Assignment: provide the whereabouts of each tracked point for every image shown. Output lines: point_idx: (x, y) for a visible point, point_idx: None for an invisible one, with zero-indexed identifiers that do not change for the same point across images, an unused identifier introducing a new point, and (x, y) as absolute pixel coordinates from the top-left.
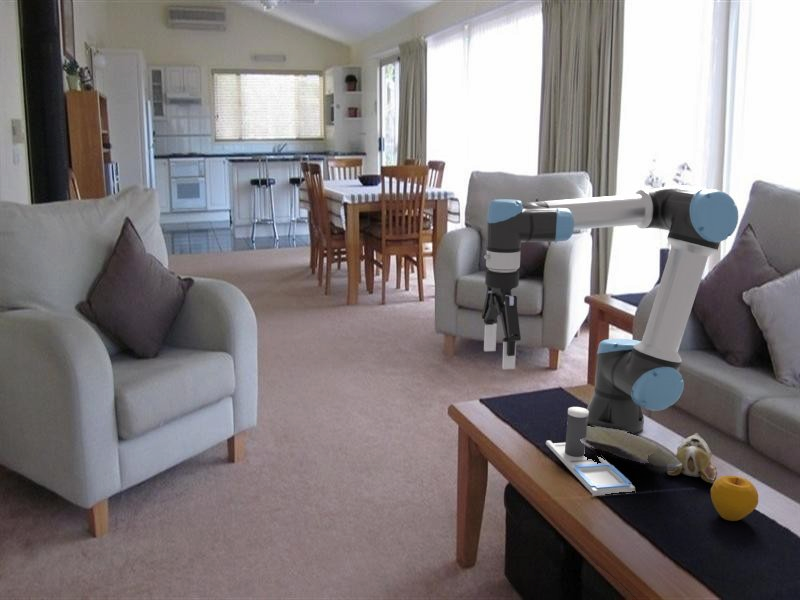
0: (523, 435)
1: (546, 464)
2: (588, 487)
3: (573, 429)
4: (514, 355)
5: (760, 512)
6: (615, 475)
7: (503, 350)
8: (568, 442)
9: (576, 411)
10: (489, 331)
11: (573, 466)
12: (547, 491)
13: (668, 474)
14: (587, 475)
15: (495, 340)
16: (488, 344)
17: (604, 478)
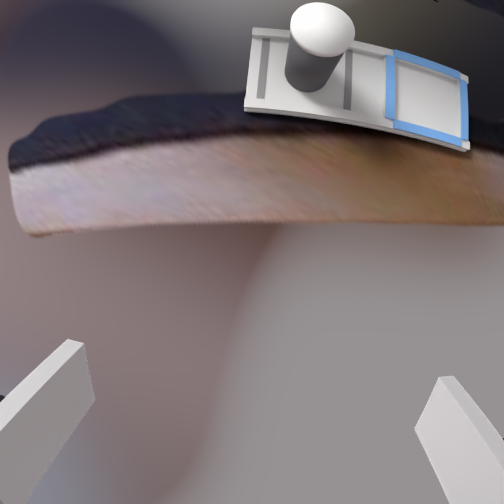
0: (177, 137)
1: (337, 157)
2: (451, 145)
3: (334, 66)
4: (488, 429)
5: None
6: (421, 67)
7: (457, 502)
8: (316, 82)
9: (329, 34)
10: (24, 466)
11: (384, 121)
12: (434, 220)
13: (437, 1)
14: (409, 112)
15: (46, 385)
16: (71, 409)
17: (423, 90)
